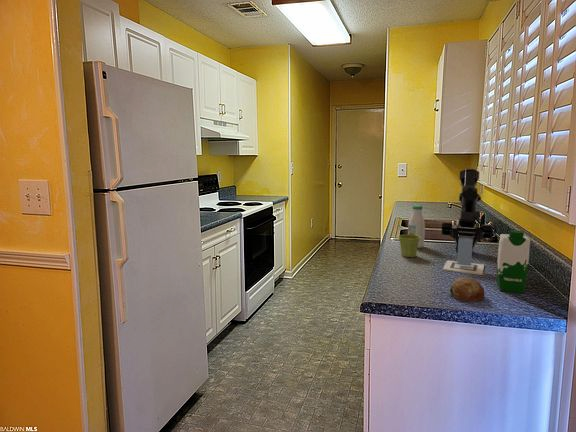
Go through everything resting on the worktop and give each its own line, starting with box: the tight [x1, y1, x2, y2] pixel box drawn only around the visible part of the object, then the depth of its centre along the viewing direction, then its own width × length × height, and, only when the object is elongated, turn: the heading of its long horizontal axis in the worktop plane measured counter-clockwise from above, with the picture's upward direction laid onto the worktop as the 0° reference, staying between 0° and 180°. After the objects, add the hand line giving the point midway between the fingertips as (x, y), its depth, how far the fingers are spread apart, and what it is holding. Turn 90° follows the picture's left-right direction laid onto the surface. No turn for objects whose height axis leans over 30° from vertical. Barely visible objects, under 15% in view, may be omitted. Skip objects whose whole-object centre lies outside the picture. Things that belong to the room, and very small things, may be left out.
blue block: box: [456, 237, 473, 266], centre depth 162 cm, size 5×5×10 cm
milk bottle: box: [407, 204, 426, 249], centre depth 199 cm, size 8×8×20 cm
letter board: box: [442, 260, 485, 276], centre depth 163 cm, size 14×14×1 cm
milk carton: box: [496, 230, 531, 294], centre depth 137 cm, size 9×9×20 cm
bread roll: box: [449, 276, 486, 303], centre depth 131 cm, size 10×10×8 cm
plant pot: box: [397, 234, 421, 258], centre depth 182 cm, size 9×9×9 cm
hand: (465, 247), depth 161 cm, fingers closed on blue block, 5 cm apart
